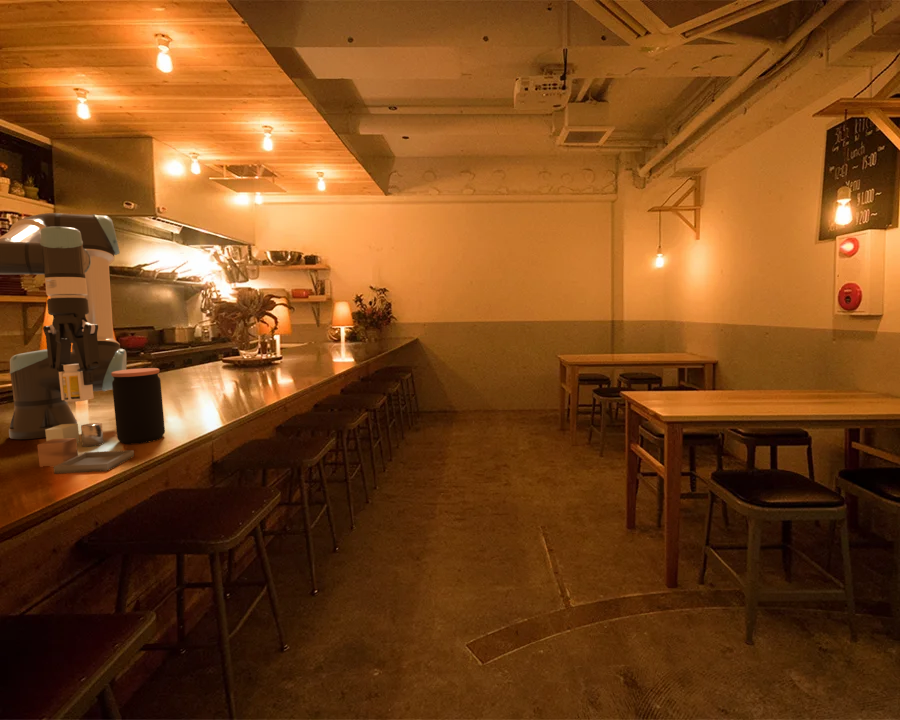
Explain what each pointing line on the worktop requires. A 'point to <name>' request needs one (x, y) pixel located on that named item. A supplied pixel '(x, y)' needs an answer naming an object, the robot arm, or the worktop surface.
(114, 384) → the coffee jar
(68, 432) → the sage block
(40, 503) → the worktop surface
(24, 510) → the worktop surface
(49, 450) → the walnut block
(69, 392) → the supplement bottle
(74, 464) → the slate tray
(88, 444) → the chrome cylinder
